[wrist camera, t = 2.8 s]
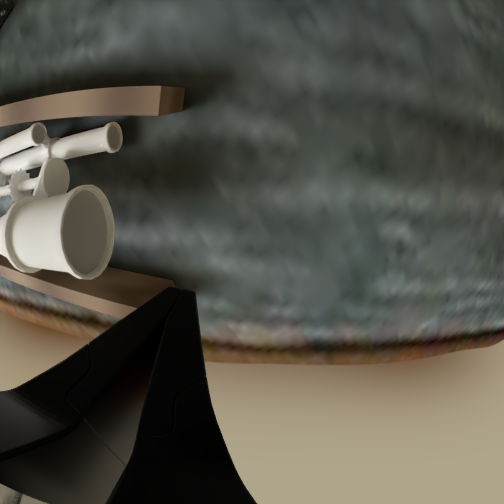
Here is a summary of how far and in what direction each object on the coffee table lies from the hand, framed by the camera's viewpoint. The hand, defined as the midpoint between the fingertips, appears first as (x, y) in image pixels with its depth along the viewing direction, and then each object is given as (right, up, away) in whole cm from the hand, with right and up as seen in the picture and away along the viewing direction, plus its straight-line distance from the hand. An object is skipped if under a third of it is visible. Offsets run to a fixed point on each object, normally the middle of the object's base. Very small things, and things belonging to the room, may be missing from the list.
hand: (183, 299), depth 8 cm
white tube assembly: (-11, +6, +6) cm, 14 cm away
